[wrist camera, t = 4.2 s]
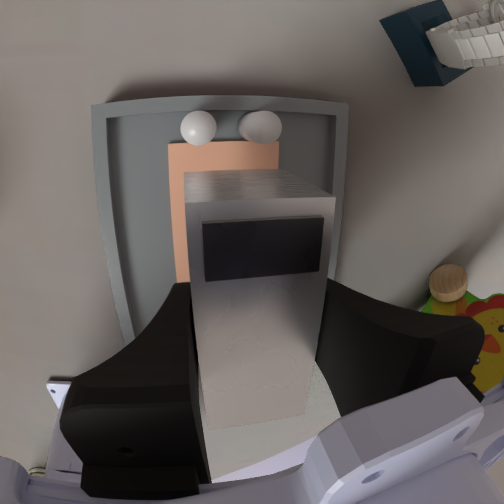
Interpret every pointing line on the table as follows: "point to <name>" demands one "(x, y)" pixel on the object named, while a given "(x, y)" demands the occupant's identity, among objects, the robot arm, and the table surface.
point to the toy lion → (481, 310)
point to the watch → (446, 41)
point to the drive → (256, 289)
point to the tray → (190, 160)
